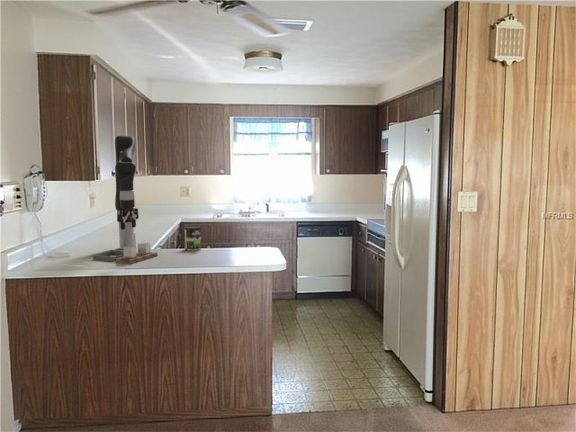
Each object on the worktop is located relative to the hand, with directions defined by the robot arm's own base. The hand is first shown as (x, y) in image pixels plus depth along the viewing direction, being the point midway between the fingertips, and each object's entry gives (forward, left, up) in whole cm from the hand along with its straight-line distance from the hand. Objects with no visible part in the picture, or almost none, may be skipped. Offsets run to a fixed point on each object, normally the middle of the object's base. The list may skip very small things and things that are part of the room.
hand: (128, 228), depth 258 cm
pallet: (-6, 0, -19) cm, 20 cm away
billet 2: (-12, 0, -18) cm, 22 cm away
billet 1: (0, 0, -18) cm, 18 cm away
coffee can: (-47, +10, -20) cm, 52 cm away
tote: (-4, -15, -19) cm, 25 cm away
